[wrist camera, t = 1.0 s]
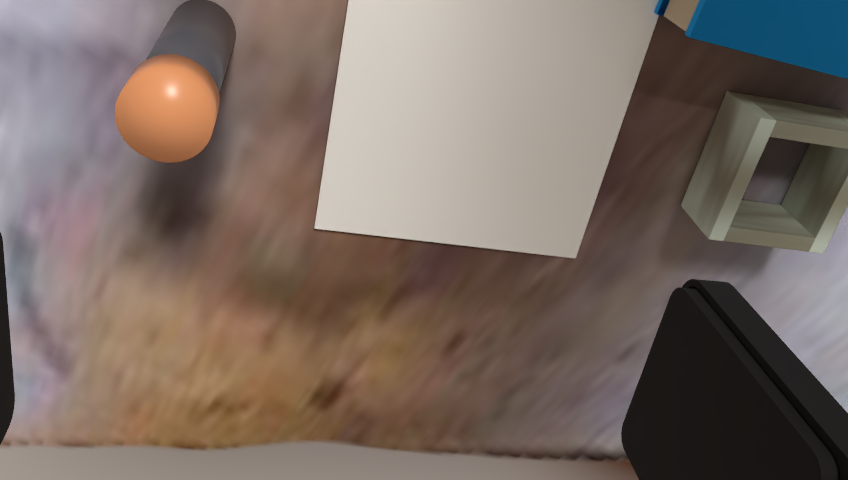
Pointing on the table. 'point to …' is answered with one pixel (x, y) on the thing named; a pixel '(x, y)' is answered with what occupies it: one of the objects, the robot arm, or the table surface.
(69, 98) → the table surface
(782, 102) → the pen holder
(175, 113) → the marker
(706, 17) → the book
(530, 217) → the paper
